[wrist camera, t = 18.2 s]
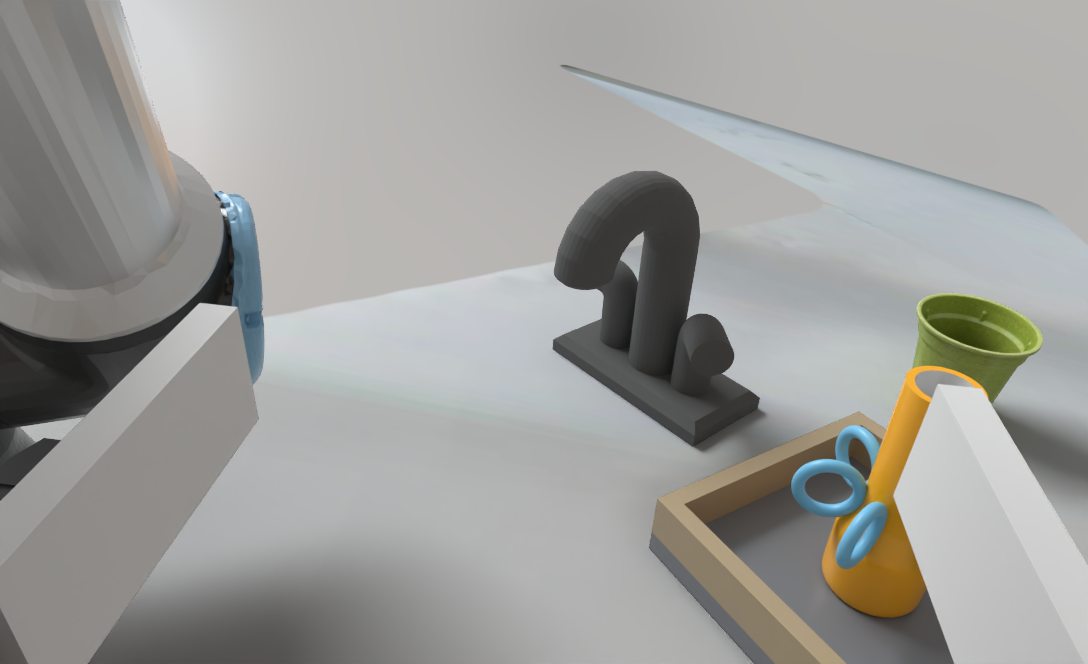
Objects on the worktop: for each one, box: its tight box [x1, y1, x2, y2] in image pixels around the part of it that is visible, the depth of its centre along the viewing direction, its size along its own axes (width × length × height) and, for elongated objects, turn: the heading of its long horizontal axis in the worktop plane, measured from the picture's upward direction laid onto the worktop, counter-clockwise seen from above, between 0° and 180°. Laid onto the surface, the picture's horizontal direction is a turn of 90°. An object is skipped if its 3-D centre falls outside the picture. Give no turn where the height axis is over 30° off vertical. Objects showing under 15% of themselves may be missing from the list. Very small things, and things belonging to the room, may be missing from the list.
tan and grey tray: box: [649, 412, 954, 664], centre depth 48 cm, size 19×19×4 cm
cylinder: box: [791, 366, 988, 618], centre depth 45 cm, size 12×10×15 cm
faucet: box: [553, 171, 760, 446], centre depth 62 cm, size 18×16×20 cm
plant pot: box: [912, 293, 1043, 405], centre depth 65 cm, size 9×9×9 cm
